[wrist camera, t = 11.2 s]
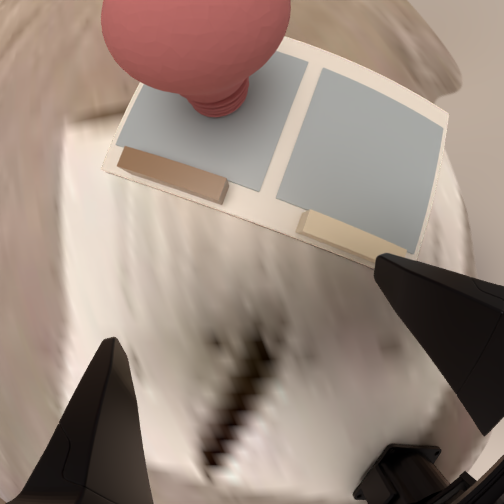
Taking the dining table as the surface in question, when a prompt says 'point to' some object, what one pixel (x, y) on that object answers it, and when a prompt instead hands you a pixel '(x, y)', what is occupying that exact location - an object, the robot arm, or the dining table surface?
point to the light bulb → (195, 45)
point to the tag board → (298, 153)
